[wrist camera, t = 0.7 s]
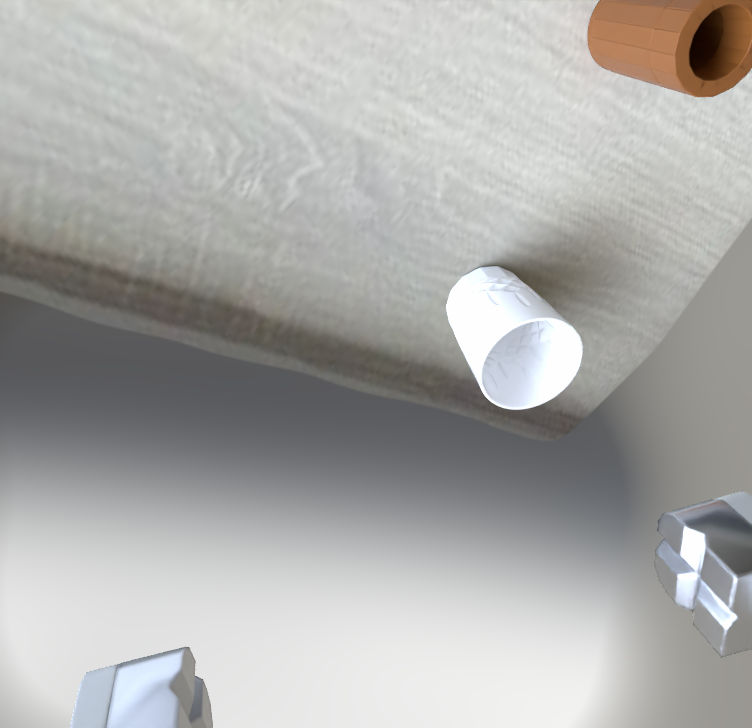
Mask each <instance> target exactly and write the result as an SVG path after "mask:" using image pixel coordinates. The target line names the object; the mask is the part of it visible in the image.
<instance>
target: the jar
mask: <svg viewBox="0 0 752 728" xmlns="http://www.w3.org/2000/svg"><path fill="white" fill-rule="evenodd" d="M588 46H589V50H590V53H591V55H592V57H593V59H594V60H595V61H596V63H597V64H599V65H600V66H601V67H603V68H605V69H607V70H610V71H612V72H615V73H618V74H621V75H625V76H628V77H631V78H635V79H638V80H641V81H645V82H648V83H651V84H655V85H658V86H661V87H665V88H668V89H672V90H675V91H678V92H682V93H685V94H688V95H692V96H695V97H713V96H716V95H718V94H720V93H722V92H724V91H727V90H729V89H730V88H733V87H734V86H735V85H736V84H737V83H738V82H739V81H740V80H741V79H743V78H744V77H745V76H746V75H747V73H748V72H749V71H750V69H751V68H752V0H600V1H599V2H598V4H597V6H596V7H595V9H594V11H593V13H592V16H591V19H590V22H589V26H588Z"/></svg>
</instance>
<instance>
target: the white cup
mask: <svg viewBox="0 0 752 728" xmlns="http://www.w3.org/2000/svg"><path fill="white" fill-rule="evenodd" d="M446 309H447V314H448V320H449V323H450V325H451V327H452V329H453V331H454V333H455V336H456V338H457V341H458V343H459V345H460V347H461V349H462V352H463V354H464V356H465V358H466V360H467V362H468V364H469V366H470V368H471V370H472V372H473V374H474V376H475V378H476V380H477V382H478V384H479V386H480V388H481V390H482V392H483V393H484V395H485V396H486V397H487V398H488V399H489V400H490V401H491V402H492V403H494V404H496V405H498V406H500V407H503V408H507V409H527V408H531V407H535V406H538V405H541V404H543V403H545V402H547V401H549V400H551V399H552V398H554V397H555V396H557V395H558V394H559V393H561V392H562V391H563V390H564V389H565V388H566V387H567V386H568V385H569V384H570V382H571V381H572V380H573V378H574V377H575V375H576V374H577V372H578V370H579V368H580V365H581V362H582V357H583V344H582V340H581V337H580V335H579V333H578V332H577V331H576V329H575V328H574V327H573V326H572V325H571V324H570V323H568V322H567V321H566V320H565V319H564V318H563V317H562V316H561V315H560V314H559V313H558V312H557V311H556V310H555V309H554V308H553V307H551V306H550V305H549V304H548V303H547V302H546V301H545V300H544V299H543V298H542V297H541V296H539V295H538V294H537V293H536V292H535V291H534V290H533V289H531V288H530V287H529V286H527V285H526V284H525V283H523V282H522V281H521V280H520V279H519V278H518V277H517V276H516V275H515V274H514V273H513V272H511V271H508V270H506V269H503V268H501V267H498V266H491V267H480V268H478V269H476V270H474V271H472V272H470V273H468V274H466V275H464V276H463V277H462V278H461V279H460V280H459V282H458V283H457V284H456V285H455V286H454V287H453V289H452V290H451V292H450V295H449V299H448V302H447V305H446Z"/></svg>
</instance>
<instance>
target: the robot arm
mask: <svg viewBox="0 0 752 728" xmlns="http://www.w3.org/2000/svg"><path fill="white" fill-rule="evenodd" d="M657 531H658V532H659V534H660V535H661V536H662V537H663V538H664V539H663V540H662V542H661V543H660V544H659V546H658V547H657V548H656V550H655V561H654V565H655V568H656V572H657V575H658V578H659V581H660V583H661V584H662V586H663V588H664V589H665V591H666V593H667V594H668V595H669V596H670V598H671V599H672V600H673V601H674V603H675V604H677V605H679V606H682V607H684V608H686V609H688V610H690V611H692V612H693V625H694V626H695V627H696V629H697V630H698V631H699V632H700V633H701V634H702V636H703V637H704V638H705V639H706V640H707V641H708V643H709V644H710V645H711V646H712V647H713V649H714V650H715V651H716V652H717V653H718V654H719V656H720V657H721V658H722V657H726V656H729V655H732V654H736V653H740V652H743V651H747V650H750V649H752V495H751V494H748V493H746V492H743V491H741V492H737V493H734V494H730V495H727V496H723V497H719V498H716V499H714V500H708V501H704V502H701V503H698V504H694V505H691V506H687V507H684V508H680V509H677V510H673V511H670V512H666V513H664V514H662V516H661V517H660V519H659V520H658V529H657ZM70 728H213V722H212V713H211V704H210V700H209V696H208V692H207V688H206V686H205V683H204V681H203V679H201V678H199V677H197V676H195V659H194V657H193V655H192V652H191V650H190V648H189V647H184V648H179V649H175V650H171V651H167V652H163V653H159V654H155V655H151V656H147V657H143V658H139V659H135V660H131V661H128V662H123V663H121V664H117V665H114V666H109V667H106V668H102V669H98V670H94V671H90V672H87V673H86V675H85V676H84V678H83V680H82V681H81V683H80V686H79V691H78V695H77V699H76V703H75V707H74V712H73V716H72V720H71V724H70Z"/></svg>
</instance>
